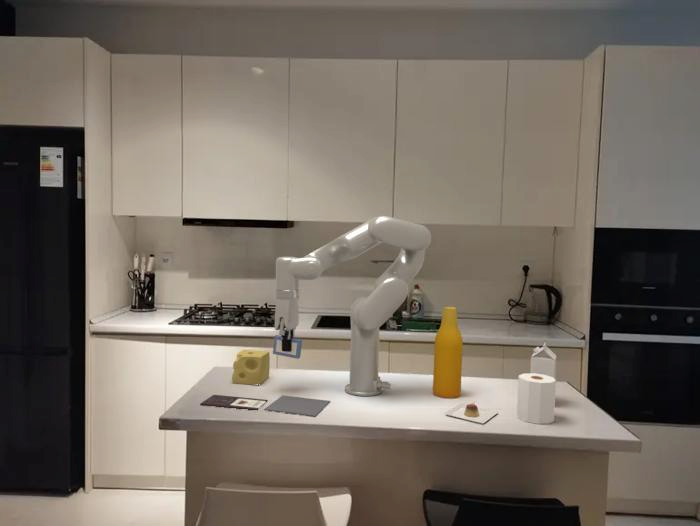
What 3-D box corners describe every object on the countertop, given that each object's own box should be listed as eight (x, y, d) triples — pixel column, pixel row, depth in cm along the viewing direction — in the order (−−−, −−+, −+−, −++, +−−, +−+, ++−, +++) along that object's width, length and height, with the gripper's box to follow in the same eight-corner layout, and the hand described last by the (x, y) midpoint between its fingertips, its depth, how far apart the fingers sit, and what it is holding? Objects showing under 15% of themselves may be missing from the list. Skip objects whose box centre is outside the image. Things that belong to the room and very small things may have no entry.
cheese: (231, 383, 183) (232, 355, 182) (243, 375, 193) (243, 348, 193) (260, 386, 181) (261, 357, 181) (270, 377, 192) (271, 350, 191)
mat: (330, 402, 166) (330, 400, 166) (315, 416, 153) (315, 415, 153) (282, 396, 170) (282, 395, 170) (263, 410, 157) (263, 409, 157)
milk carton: (554, 401, 173) (557, 343, 172) (552, 407, 167) (555, 347, 165) (531, 397, 176) (533, 340, 175) (528, 403, 170) (531, 344, 168)
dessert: (483, 427, 150) (483, 410, 149) (444, 417, 157) (444, 401, 156) (498, 415, 160) (499, 400, 159) (460, 407, 166) (461, 391, 166)
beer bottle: (452, 389, 183) (455, 305, 181) (466, 397, 174) (469, 309, 173) (427, 391, 180) (430, 306, 178) (440, 399, 171) (444, 310, 170)
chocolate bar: (213, 394, 169) (267, 399, 165) (213, 397, 169) (267, 402, 165) (200, 403, 160) (256, 409, 156) (200, 406, 160) (256, 412, 156)
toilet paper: (550, 413, 161) (552, 374, 160) (556, 426, 151) (558, 383, 150) (515, 410, 163) (517, 371, 162) (518, 422, 153) (520, 380, 152)
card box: (300, 357, 175) (302, 339, 174) (298, 358, 173) (300, 340, 172) (274, 352, 177) (276, 334, 176) (272, 353, 175) (274, 336, 175)
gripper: (286, 291, 182) (286, 344, 183) (266, 297, 167) (267, 355, 168) (306, 292, 180) (307, 346, 181) (289, 298, 165) (289, 356, 166)
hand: (288, 350), depth 175 cm, fingers closed on card box, 1 cm apart
